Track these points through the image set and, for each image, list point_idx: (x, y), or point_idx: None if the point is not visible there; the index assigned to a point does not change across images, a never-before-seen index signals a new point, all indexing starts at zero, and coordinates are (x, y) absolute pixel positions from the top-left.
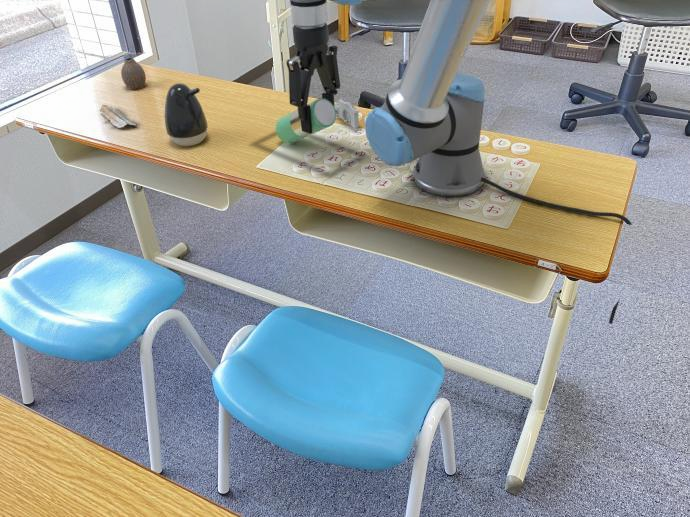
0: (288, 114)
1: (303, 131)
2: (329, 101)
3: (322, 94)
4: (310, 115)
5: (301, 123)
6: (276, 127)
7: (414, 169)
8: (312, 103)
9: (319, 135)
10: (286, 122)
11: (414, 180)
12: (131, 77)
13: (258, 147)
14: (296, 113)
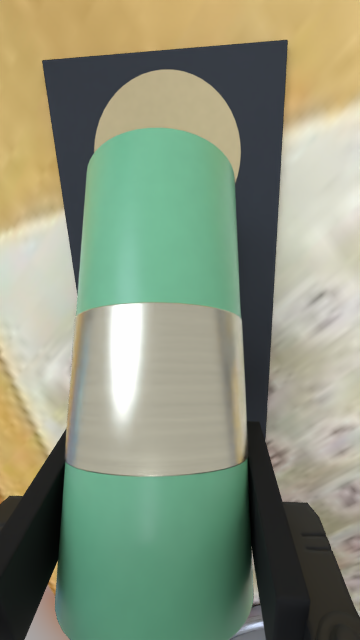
0: (123, 240)
1: None
2: (239, 627)
3: (274, 597)
4: (52, 564)
5: (52, 453)
6: (87, 172)
7: (249, 631)
8: (85, 613)
9: (305, 249)
10: (79, 275)
11: None
12: None
13: (47, 114)
14: (81, 386)
